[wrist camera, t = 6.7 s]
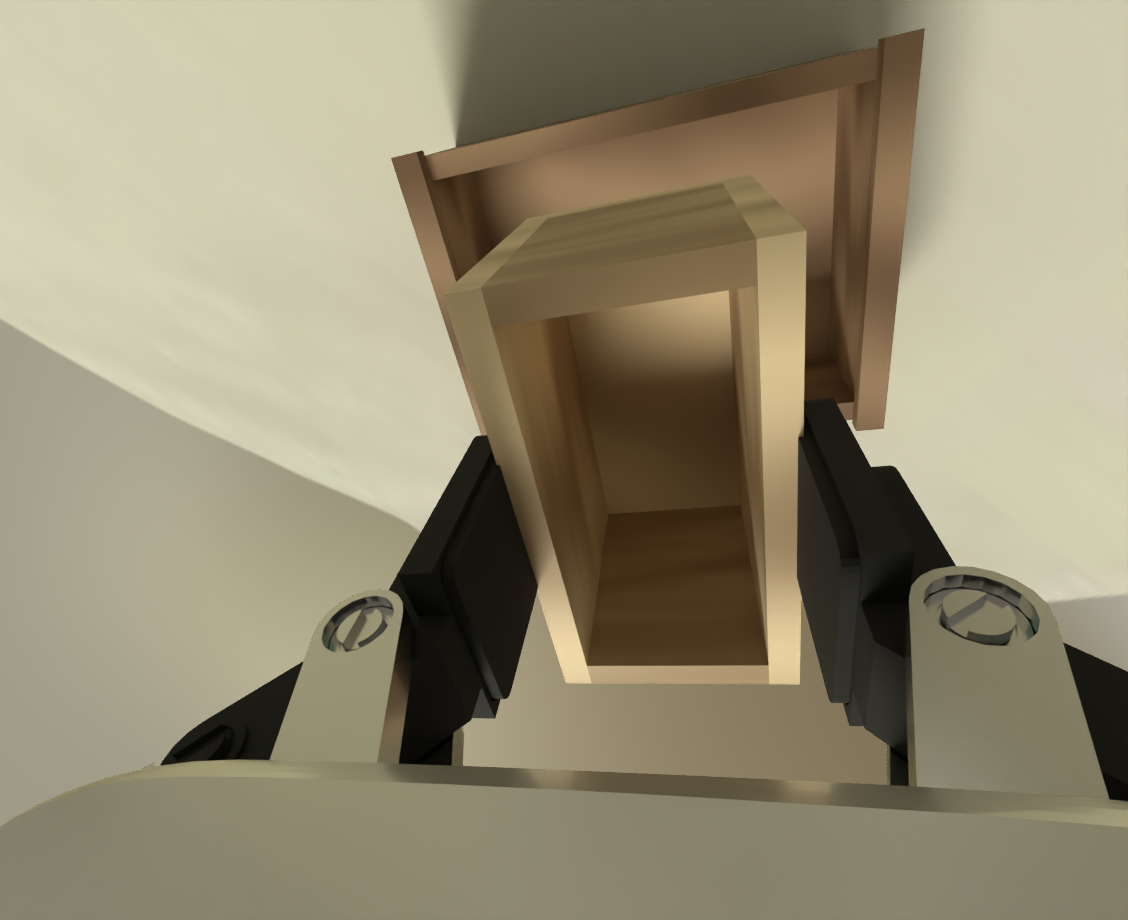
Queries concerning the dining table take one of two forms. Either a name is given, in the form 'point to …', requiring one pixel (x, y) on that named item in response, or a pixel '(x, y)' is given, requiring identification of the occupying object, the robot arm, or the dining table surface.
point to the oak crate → (651, 427)
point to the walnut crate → (708, 153)
